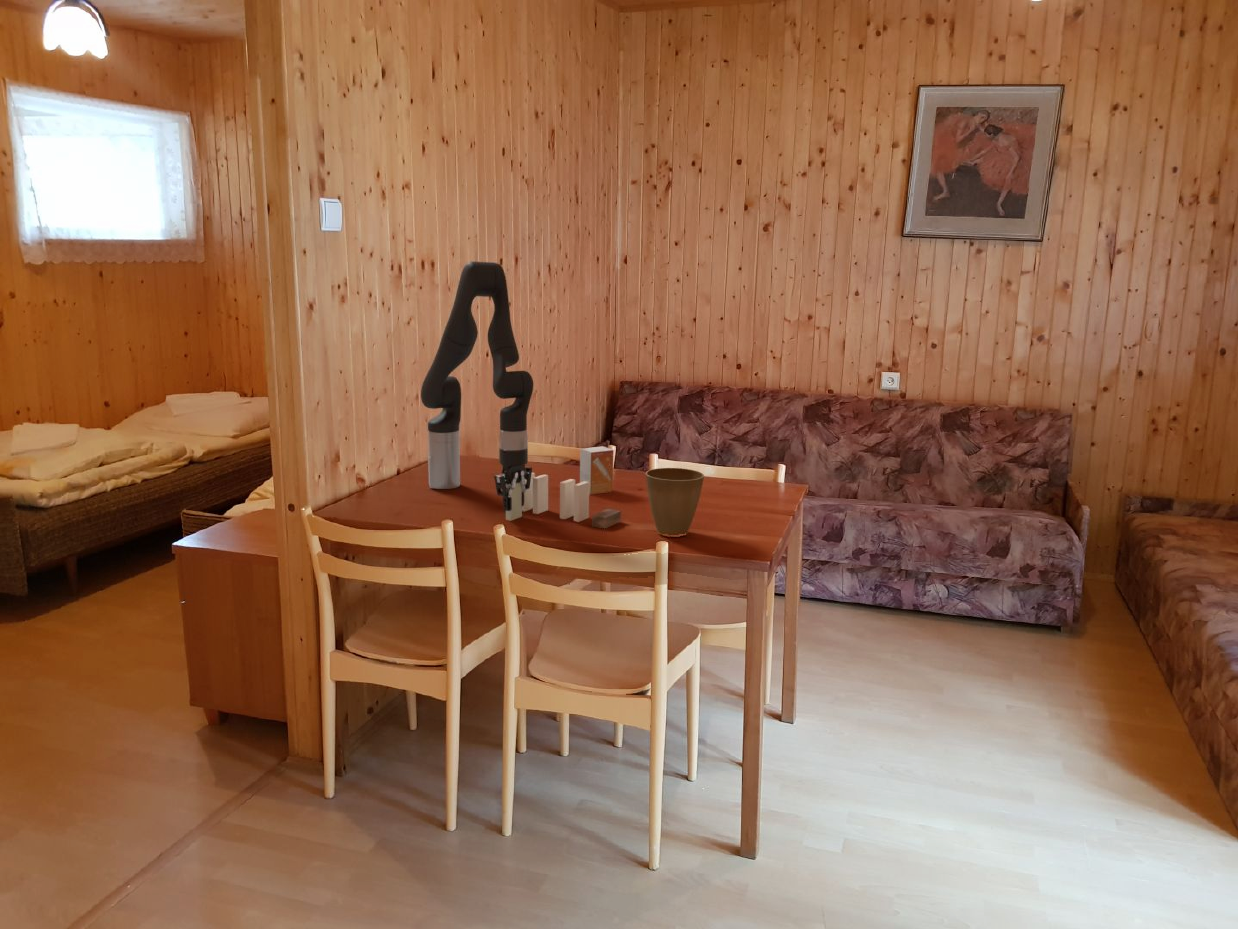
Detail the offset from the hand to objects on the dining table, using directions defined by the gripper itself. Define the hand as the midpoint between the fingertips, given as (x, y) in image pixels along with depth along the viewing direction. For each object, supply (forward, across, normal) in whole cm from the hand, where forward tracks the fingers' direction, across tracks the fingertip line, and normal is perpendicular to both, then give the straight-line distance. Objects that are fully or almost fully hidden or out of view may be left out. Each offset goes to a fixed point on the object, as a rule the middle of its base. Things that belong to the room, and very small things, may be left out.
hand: (513, 507), depth 261 cm
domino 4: (+3, -10, +11) cm, 15 cm away
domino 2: (+3, -10, -2) cm, 10 cm away
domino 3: (+3, -10, +2) cm, 10 cm away
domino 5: (+3, -10, +16) cm, 18 cm away
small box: (+3, -38, +2) cm, 38 cm away
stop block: (+3, -10, +24) cm, 26 cm away
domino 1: (+3, 0, 0) cm, 3 cm away
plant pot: (+3, -12, +42) cm, 44 cm away
